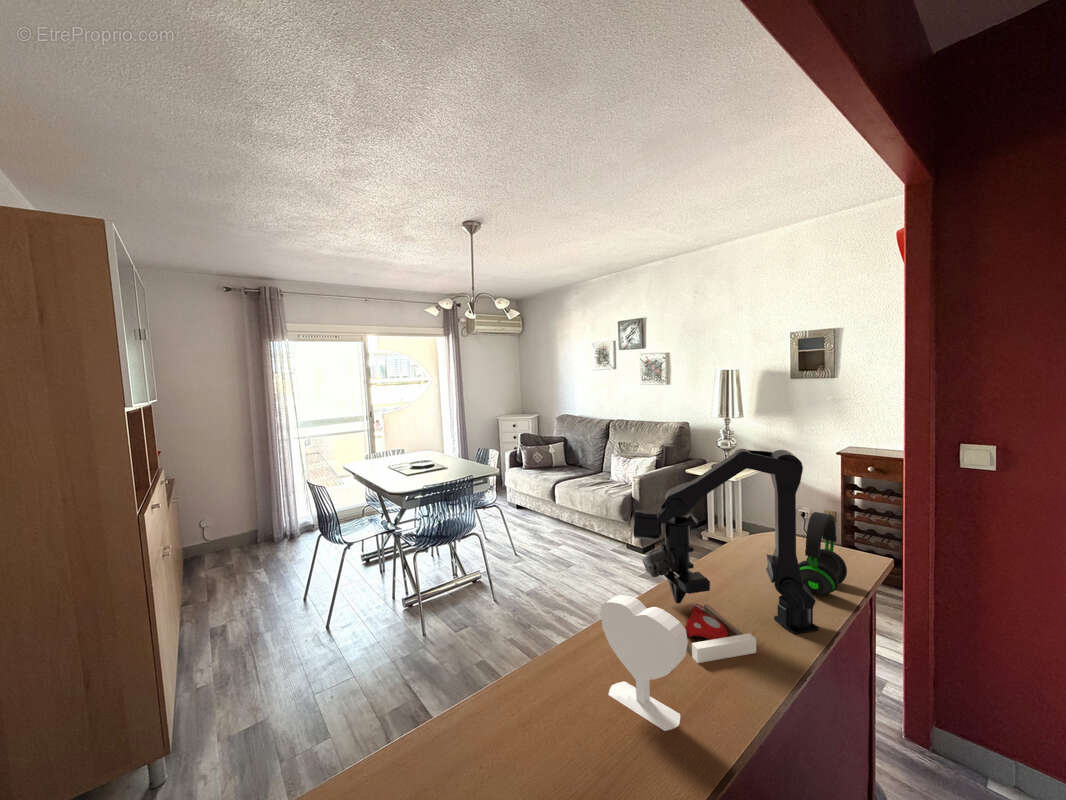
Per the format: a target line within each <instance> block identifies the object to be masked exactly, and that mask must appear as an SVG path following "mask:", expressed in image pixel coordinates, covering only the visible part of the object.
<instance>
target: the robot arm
mask: <svg viewBox="0 0 1066 800" xmlns="http://www.w3.org/2000/svg"><path fill="white" fill-rule="evenodd" d="M747 469H748V470H753V471H757V472H761V473H765V474H769V476H770V479H771V481H772V485H773V489H774V538H775V539H774V541H775V542H774V544H775V545H774V546H775V547H774V551H773V554H768V553H767V554H765V557H766V560H767V566H766V568H765V570H766V573H767V575H768V577H769V580H770V582H771V584H773V586H774V588H775V590H776V592H777V593H779V596H778V603H777V615H775V616H773V620H775V621H776V622H778V623H779V624H780V625H781V626H783V627H784V628H785V629H787V630H788V631H789V632H791V633H793V634H795V635H797V634H805V633H809V632H815V631H819V630H820V629H819V626H817V625H816V624H814V622H813V621H814V615H813V614H814V606H815V605H816V599H815V597H814V595H813V594H812V592H811V591H810V590H809V588H808V587H807V585H806V583H805V582H804V581H803V579H802V575H801V571H800V567H799V560H798V556H797V512H796V511H797V507H796V505H797V501H796V500H797V499H796V498H797V497H796V496H797V492H798V490H799V488H800V484H801V480H802V476H803V471H804V467H803V463H802V461H801V459H799V458H798V457H797V456H796V455H794V454H793V453H792V452H790V451H789V450H786V449H778V450H777V449H776V450H774V451H766V450H755V449H754V450H752V449H747V448H738V449H737V450H735V451H734V452H733V453H732V454H731V455H729V456H728V457H726V458H725V459H723V460H722V461H720V462H719V463H717V464H715V465H714V466H713V467H711V468H710V469H708V470H707V471H705V472H704V473H703V474H702V473H701V475H699V476H698V477H695V479H693V480H690V481H688V482H683V483H680V484H679V485H677V486H674V487H671V488H670V489H669V490H667V491H666V493H665V498H664V502H663V503H662V504H661V505H660V506H659V507H658V509H657V511H646V510H642V509H636V510H635V511H634V525H633V538H634V539H642V540H643V539H646V540H655V541H657V540H658V539H660V537H663V524H664V541H663V542H661V545H660V549H651V551H650V552H649V553H648V554H647V555H646V556H644V557H642V559H641V560H642V563H643V565H644V569H645V571H646V572H647V573H648V574H649V575H650V576H651V577H652V578H657V577H659V576H664V577H665V578H666V579H667V581H668V584H669V586H670V587H669V588H670V590H671V593H672V596H673V601H674V602H675V603H676V604H681V603H682V601H683V599H684V598H685V596H686V594H688V595H689V594H690V595H691V594H695V593H703V592H709V591H710V590H711V581H710V579H708V578H707V577H706V576H705V575H703V574H702V573H700V571H692V570H691V569H694V563H692V562H691V561H690V560H691V559H690V558H691V553H693V552H694V546H692V545H691V544H690V543H691V542H690V541H691V540H690V538H691V537H690V531H691V529H690V527H698V525H699V523H698V519H697V518H696V517H695V516H694V515H693V514H692V512H691V511H692V510H693V509H694V508H695V507H696V505H697V504H698V503H699V502H700V501H701V500H702V498H704V497H705V495H708V494H709V493H711V492H712V491H714V490H715V489H717V488H718V487H720V486H722V485H723V484H724V483H726V482H728V481H729V480H731V479H732V478H734V477H735V476H737V475H739V474H740V473H741V472H743V471H745V470H747Z"/></svg>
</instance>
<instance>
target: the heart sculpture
mask: <svg viewBox="0 0 1066 800" xmlns="http://www.w3.org/2000/svg"><path fill="white" fill-rule="evenodd" d="M600 619H601V626H602V630H603V633H604V635H605V638H606V639H607V642H608V645H609V646H610V648H611V649H612V650H613V652H614V655H616V657H617V659H618V660H619V661H620V662H621V663H622V665H623V666H624V667H625V668H626V669H627V671H628V673H630V675H632V678H633V679H635V686H634V685H631V684H630V683H628V682H626V681H625V680H623V681H621V682H620V681H619V682H616V683H614V684H611V686H610V688H609V691H608V696H609V697H610V698H613V699H614V700H615V701H617V702H619V703H620V704H622V705H624V706H625V707H627V708H628V709H629V710H631V711H633V712H634V713H636V714H638V716H641V717H642V718H644V719H645V720H646V721H649V722H650V723H652V724H653V725H655V726H656V727H658V728H660V729H661V730H662V731H664V732H666V731H671V730H673V729H676V728H677V727H679V725H680V722H681V713H679V712H677V711H675V710H674V709H673V708H671V707H669V706H668V705H666V704H664V703H662V702H660V701H659V700H657V699H655V698H653V697H652V696H651V693H650V692H651V691H650V690H651V689H650V681H651V680H658V679H660V678H663V677H666V676H668V675H669V673H671V672H672V671H673V670H674V669H675V668H676V667H677V666H678V665H680V663H681V662H682V661H683V659H684V658H685V657H686V655H687V651H686V650H687V643H688V640H689V639H688V640H687V638H688V635H687V634H686V629H685V626H684V625H683V623H682V622H681V621H680V620H679V619H677V618H676V617H674V616H673V615H672V614H671V613H670V612H667V611H666V610H664V609H662V608H660V607H658V606H651V607H648V608H647V607H646V606H645V605H644V604H643V602H641V601H640V599H638V598H636V597H633V596H631V595H625V594H619V595H618V594H617V595H616V596H614V597H612V598H611V599H609V600H607V601H605V602H604V603H603V604H601V607H600Z"/></svg>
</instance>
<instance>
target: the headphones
mask: <svg viewBox="0 0 1066 800" xmlns="http://www.w3.org/2000/svg"><path fill="white" fill-rule="evenodd" d="M806 528H807V529H806V536H805V550H804V555H805V556H806V557H807V558H806V560H802V561H801V562H798V564H799V567H800V571H801V575H802V579H803V581H804V582H805V583H806V585H807V587H808V588H809V590H810V592H811V593H813V594H816V595H819V596H826V595H830V594H831V593H834V592H835V591H836V590H837V589H838V587H839V585H840V584H842V583H843V582H844V581H845V580H846V577H847V574H848V568H847V564H846V562H845V561H844V559H843V558H842V556H840V555H839V554H838V553H836V552H834V546H835V543H837V524H836V518H835V516H834V515H833V514H829V513H824V512H819V511H814V512H813V513H811V515H810V517H809V519H808V523H807V527H806ZM822 540H824V542H825V546H824V548H821V547H822Z"/></svg>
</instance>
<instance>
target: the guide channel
mask: <svg viewBox="0 0 1066 800" xmlns="http://www.w3.org/2000/svg"><path fill="white" fill-rule="evenodd" d="M703 609H705V611H704V613H705V614H707V615H709V616H712V617H713V618H715V619H716V620H718V621H719V622H720V623H722V624H723V625H724V627H725V628H726V629H727V631H728V635H729V636H728V637H725V638H719V639H713V640H710V639H706V640H703V641H697V642H692V641H691V640H689V637H687V640H688V643H687V650H686V653H688V654H689V655H690V656H691V658H692V659H693V661H695V662H696V663H697V664H701V663H705V662H706V663H707V662H712V661H713V662H714V661H717V660H723V659H724V660H725V659H729V658H735V657H739V656H745V655H746V656H747V655H751V654H757V638H756V637H755V636H754V635H752V634H751V633H750V632H749V633H744V634H743V633H742V632H741V631H740V630H739V629H737V628H736V627H735V626H734V625H733V624H732V623H731V622H730V621H729V620H727V618H725V617H724V616H722V614H720V613H719V612H718V611H717V610H716V609H714V608H713V607H712V605H710V604H708V603H707V604H703Z"/></svg>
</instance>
